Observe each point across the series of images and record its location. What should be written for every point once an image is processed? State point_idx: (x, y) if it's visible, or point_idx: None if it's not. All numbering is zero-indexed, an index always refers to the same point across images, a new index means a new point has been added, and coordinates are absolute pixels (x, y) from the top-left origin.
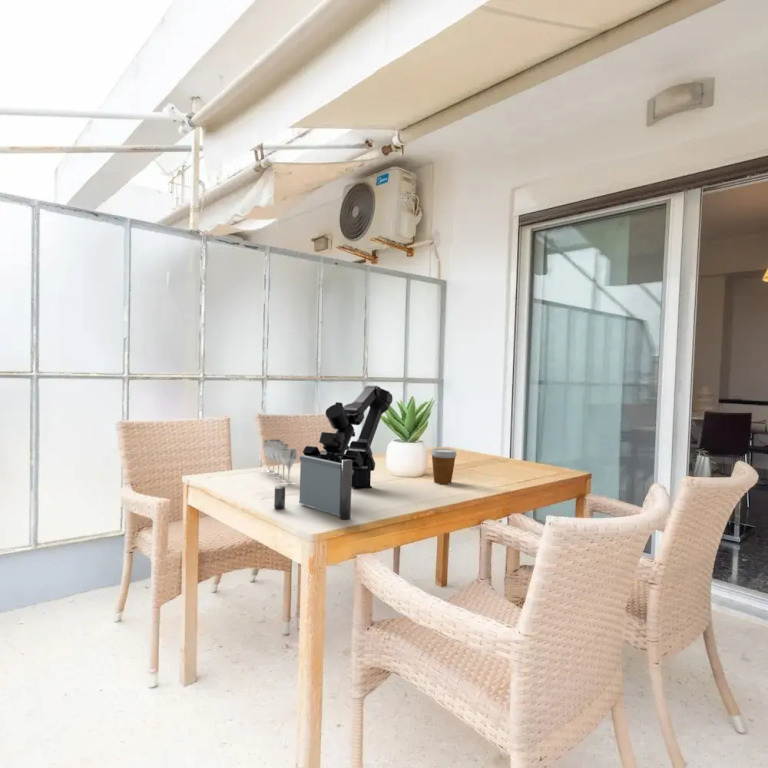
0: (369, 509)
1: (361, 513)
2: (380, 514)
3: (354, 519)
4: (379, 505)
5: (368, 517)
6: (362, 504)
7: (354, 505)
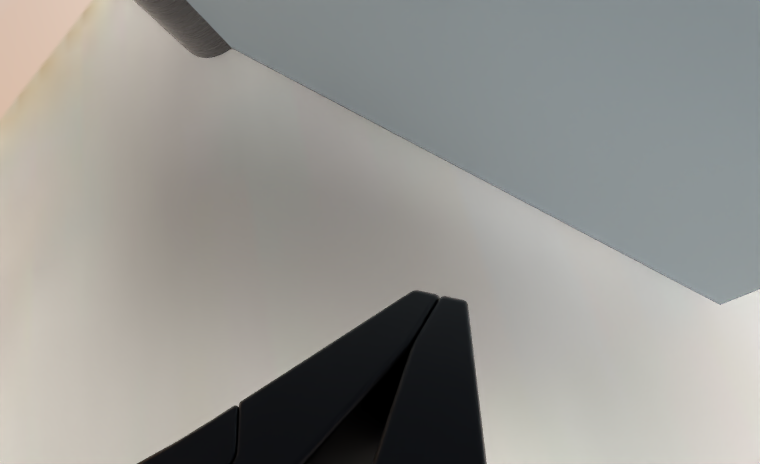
0: (74, 307)
1: (124, 179)
2: (9, 201)
3: (158, 29)
4: (2, 459)
5: (79, 105)
6: (128, 458)
7: (189, 402)
